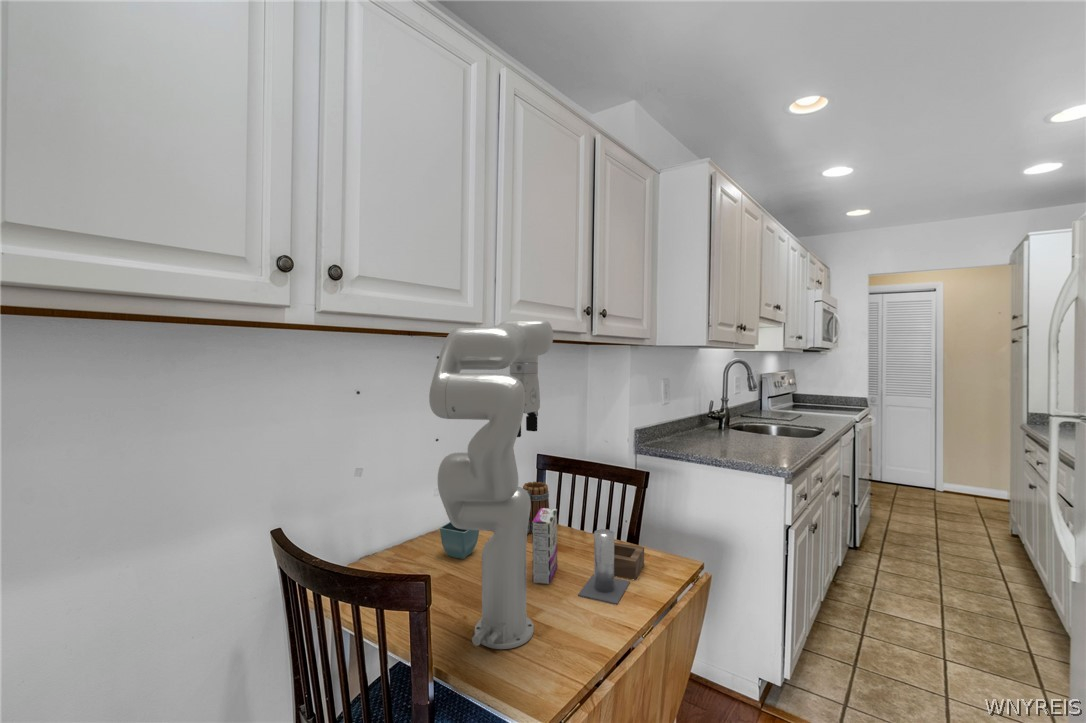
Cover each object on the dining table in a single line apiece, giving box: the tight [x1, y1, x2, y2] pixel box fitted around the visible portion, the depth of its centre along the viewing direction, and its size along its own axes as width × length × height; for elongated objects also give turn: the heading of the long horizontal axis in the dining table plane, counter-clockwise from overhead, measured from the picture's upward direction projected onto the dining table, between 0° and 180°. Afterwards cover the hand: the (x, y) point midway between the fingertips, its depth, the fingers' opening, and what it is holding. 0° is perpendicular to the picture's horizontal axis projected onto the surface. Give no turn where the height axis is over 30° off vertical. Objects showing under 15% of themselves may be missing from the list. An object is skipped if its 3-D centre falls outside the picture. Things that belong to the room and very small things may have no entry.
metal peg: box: [593, 528, 615, 593], centre depth 122 cm, size 5×5×14 cm
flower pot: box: [439, 521, 480, 560], centre depth 143 cm, size 9×9×9 cm
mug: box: [522, 481, 550, 534], centre depth 162 cm, size 16×11×15 cm
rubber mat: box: [577, 573, 631, 606], centre depth 122 cm, size 12×10×1 cm
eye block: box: [614, 541, 645, 581], centre depth 134 cm, size 10×10×5 cm
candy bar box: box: [531, 507, 558, 585], centre depth 130 cm, size 11×5×16 cm, turn 168°
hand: (523, 433), depth 129 cm, fingers open, 9 cm apart
